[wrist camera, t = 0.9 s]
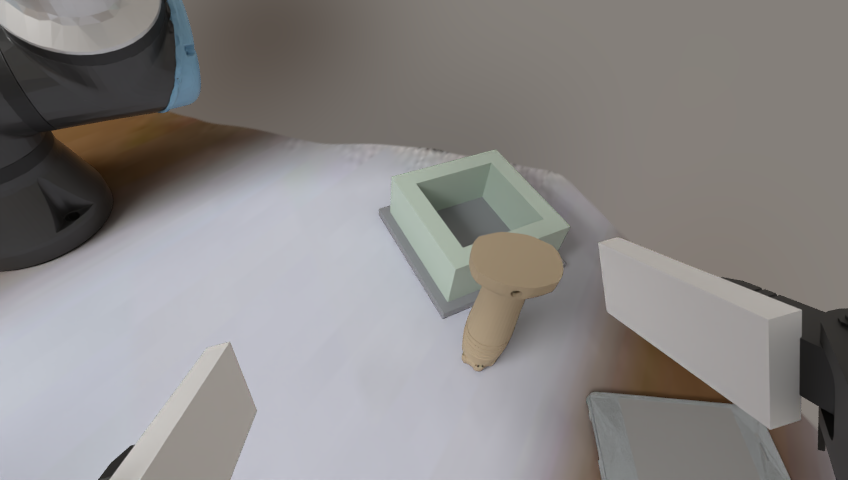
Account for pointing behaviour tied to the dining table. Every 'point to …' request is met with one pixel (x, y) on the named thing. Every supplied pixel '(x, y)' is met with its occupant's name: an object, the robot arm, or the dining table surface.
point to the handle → (505, 290)
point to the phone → (680, 440)
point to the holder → (463, 221)
